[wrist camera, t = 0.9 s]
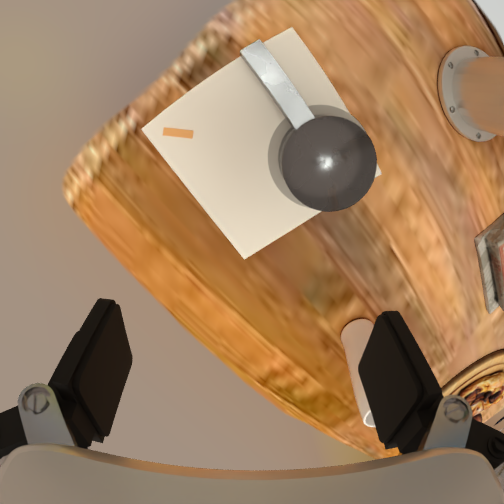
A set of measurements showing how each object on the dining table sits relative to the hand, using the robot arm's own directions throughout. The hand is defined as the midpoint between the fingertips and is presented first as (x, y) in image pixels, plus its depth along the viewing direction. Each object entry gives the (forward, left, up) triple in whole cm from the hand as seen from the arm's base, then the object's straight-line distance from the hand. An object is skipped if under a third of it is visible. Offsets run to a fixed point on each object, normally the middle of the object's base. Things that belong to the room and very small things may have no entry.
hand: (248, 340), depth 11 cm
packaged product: (-28, +33, -25) cm, 50 cm away
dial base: (-4, -2, -24) cm, 24 cm away
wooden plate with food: (-18, +73, -25) cm, 79 cm away
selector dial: (-8, -2, -22) cm, 24 cm away
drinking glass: (-1, +27, -24) cm, 37 cm away
